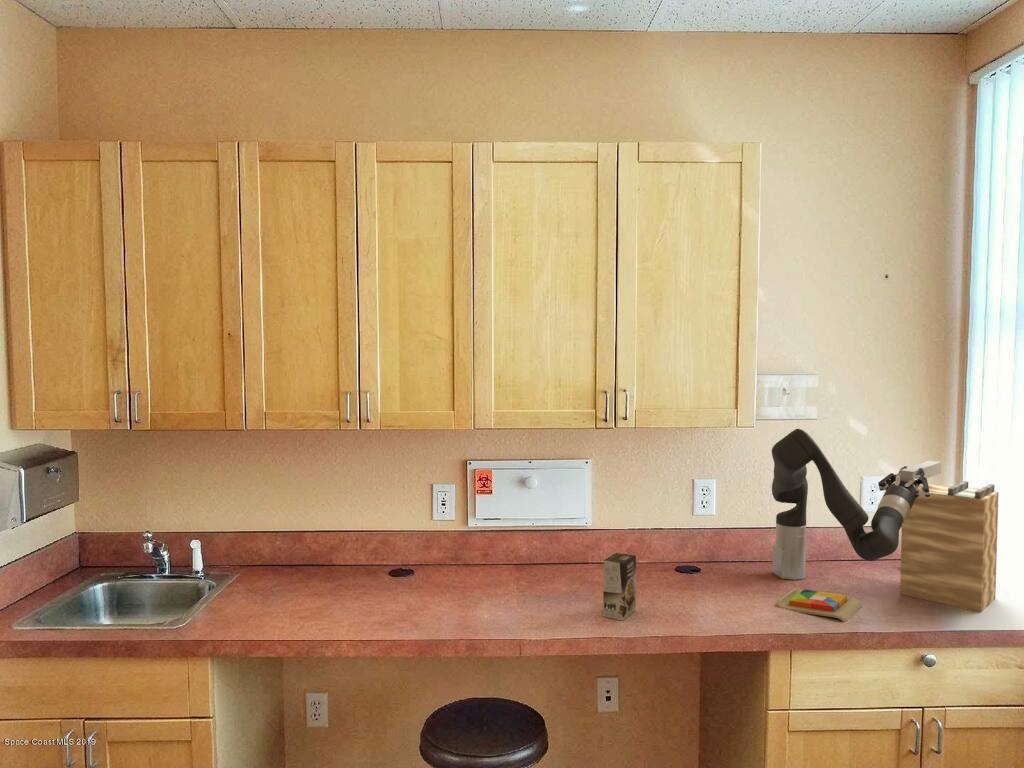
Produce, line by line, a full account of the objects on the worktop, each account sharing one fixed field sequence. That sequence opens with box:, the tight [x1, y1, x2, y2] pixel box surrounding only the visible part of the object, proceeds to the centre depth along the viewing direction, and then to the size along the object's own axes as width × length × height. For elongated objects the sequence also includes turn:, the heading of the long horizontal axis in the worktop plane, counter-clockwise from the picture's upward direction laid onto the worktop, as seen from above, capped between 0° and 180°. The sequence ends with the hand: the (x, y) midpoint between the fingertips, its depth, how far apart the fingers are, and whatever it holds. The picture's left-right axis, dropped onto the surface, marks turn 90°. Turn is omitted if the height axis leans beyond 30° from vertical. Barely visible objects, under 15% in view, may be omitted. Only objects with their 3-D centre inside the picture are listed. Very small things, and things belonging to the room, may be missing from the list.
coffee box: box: [602, 552, 637, 622], centre depth 198 cm, size 9×6×16 cm
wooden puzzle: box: [776, 587, 863, 623], centre depth 205 cm, size 18×19×4 cm
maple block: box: [899, 480, 999, 613], centre depth 212 cm, size 16×21×34 cm
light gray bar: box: [899, 460, 942, 482], centre depth 212 cm, size 26×4×4 cm, turn 134°
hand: (913, 469), depth 207 cm, fingers closed on light gray bar, 3 cm apart
